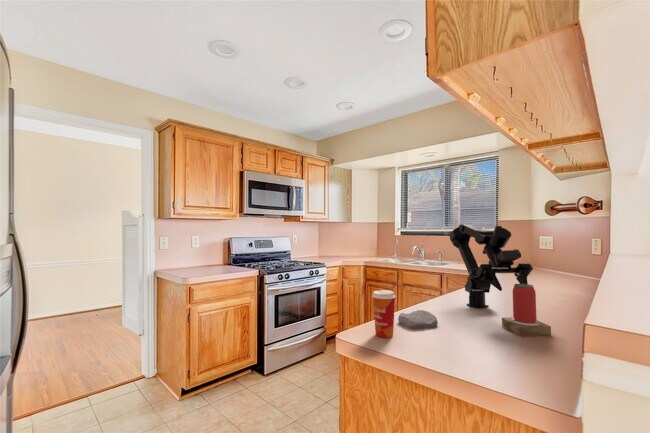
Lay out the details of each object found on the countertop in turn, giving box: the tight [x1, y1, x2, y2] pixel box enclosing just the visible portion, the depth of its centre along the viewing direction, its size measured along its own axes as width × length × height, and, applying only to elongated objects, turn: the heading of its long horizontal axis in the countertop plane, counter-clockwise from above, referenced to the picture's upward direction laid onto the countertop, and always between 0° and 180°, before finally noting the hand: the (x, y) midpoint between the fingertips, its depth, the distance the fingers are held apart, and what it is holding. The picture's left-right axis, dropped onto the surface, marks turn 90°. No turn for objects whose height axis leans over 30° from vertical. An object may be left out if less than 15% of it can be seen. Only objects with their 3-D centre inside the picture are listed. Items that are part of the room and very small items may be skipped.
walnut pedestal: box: [501, 316, 552, 337], centre depth 104 cm, size 10×10×3 cm
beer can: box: [512, 283, 538, 323], centre depth 105 cm, size 7×7×12 cm
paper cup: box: [371, 289, 396, 339], centre depth 102 cm, size 8×8×14 cm
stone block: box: [397, 309, 439, 329], centre depth 113 cm, size 12×5×10 cm
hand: (514, 290), depth 110 cm, fingers open, 9 cm apart
